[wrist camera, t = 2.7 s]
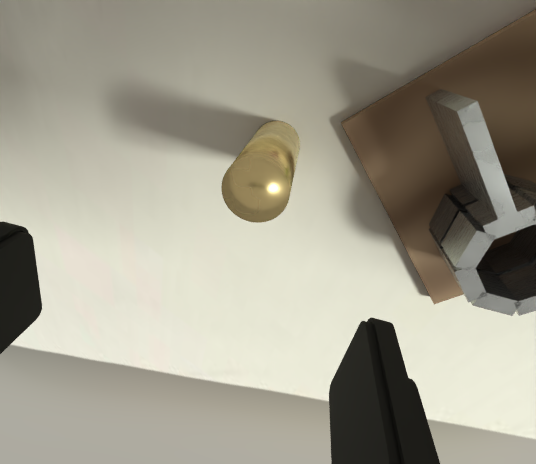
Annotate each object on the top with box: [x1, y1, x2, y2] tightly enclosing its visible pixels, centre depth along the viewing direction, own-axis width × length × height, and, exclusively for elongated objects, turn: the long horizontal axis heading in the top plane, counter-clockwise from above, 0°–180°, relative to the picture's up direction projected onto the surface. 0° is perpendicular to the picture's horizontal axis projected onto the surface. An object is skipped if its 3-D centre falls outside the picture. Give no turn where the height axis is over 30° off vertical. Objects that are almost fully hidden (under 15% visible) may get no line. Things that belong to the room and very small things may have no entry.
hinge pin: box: [222, 121, 300, 222], centre depth 22 cm, size 4×4×10 cm
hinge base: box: [341, 9, 536, 304], centre depth 25 cm, size 18×18×1 cm
